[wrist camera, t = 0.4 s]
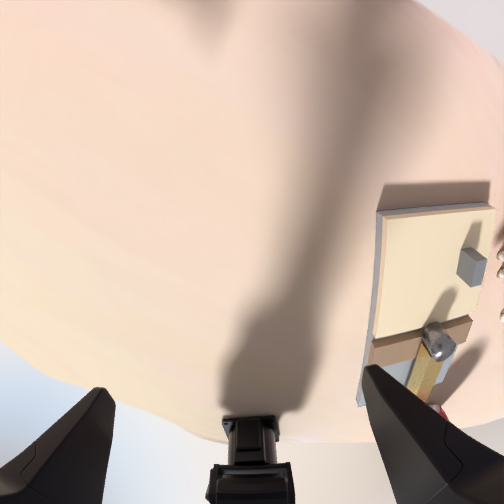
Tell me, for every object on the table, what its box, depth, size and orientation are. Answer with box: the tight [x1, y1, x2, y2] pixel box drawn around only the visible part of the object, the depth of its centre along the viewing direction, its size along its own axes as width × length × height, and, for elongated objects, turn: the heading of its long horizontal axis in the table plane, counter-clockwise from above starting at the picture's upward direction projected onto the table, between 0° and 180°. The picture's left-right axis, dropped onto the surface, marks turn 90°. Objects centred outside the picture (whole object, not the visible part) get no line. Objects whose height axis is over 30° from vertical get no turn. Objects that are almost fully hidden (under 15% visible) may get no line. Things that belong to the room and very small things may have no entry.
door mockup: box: [356, 202, 497, 407], centre depth 23 cm, size 23×12×4 cm, turn 7°
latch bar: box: [406, 322, 456, 403], centre depth 24 cm, size 12×2×3 cm, turn 7°
